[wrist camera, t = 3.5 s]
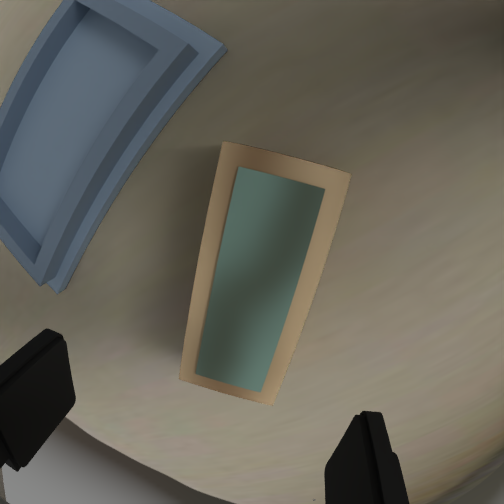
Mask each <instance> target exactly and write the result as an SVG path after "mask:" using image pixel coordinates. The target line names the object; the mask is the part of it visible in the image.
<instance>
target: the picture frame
mask: <svg viewBox="0 0 504 504" xmlns="http://www.w3.org/2000/svg"><path fill="white" fill-rule="evenodd" d="M351 175H352V174H350V173H347V172H344V171H341V170H338V169H335V168H332V167H328V166H325V165H321V164H318V163H314V162H311V161H307V160H303V159H300V158H296V157H292V156H288V155H284V154H280V153H276V152H272V151H268V150H264V149H260V148H256V147H251V146H247V145H242V144H237V143H232V142H227V141H223V143H222V148H221V152H220V156H219V161H218V165H217V170H216V174H215V179H214V183H213V188H212V193H211V198H210V202H209V207H208V212H207V217H206V222H205V227H204V232H203V237H202V242H201V247H200V253H199V258H198V263H197V269H196V274H195V280H194V285H193V291H192V297H191V303H190V309H189V315H188V321H187V327H186V333H185V340H184V346H183V353H182V360H181V366H180V373H179V379H180V380H183V381H186V382H189V383H192V384H195V385H199V386H202V387H205V388H208V389H212V390H215V391H218V392H222V393H225V394H229V395H232V396H236V397H239V398H243V399H247V400H251V401H255V402H259V403H263V404H267V405H271V406H273V404H274V401H275V399H276V396H277V394H278V391H279V389H280V387H281V384H282V382H283V379H284V377H285V374H286V371H287V369H288V366H289V364H290V361H291V359H292V356H293V353H294V351H295V348H296V345H297V343H298V340H299V337H300V335H301V332H302V329H303V327H304V324H305V321H306V318H307V315H308V313H309V310H310V307H311V304H312V301H313V298H314V295H315V293H316V290H317V287H318V284H319V281H320V278H321V275H322V272H323V269H324V266H325V263H326V259H327V256H328V253H329V250H330V247H331V244H332V241H333V237H334V234H335V231H336V228H337V224H338V221H339V218H340V214H341V211H342V207H343V204H344V200H345V197H346V193H347V190H348V186H349V183H350V179H351Z"/></svg>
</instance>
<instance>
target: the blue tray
mask: <svg viewBox="0 0 504 504" xmlns="http://www.w3.org/2000/svg"><path fill="white" fill-rule="evenodd" d="M226 51H227V48H226V47H225V46H224V44H222V43H221V42H219V41H218V40H216V39H215V38H213V37H212V36H210V35H208V34H207V33H205V32H204V31H202V30H200V29H199V28H197V27H196V26H194V25H192V24H191V23H189V22H187V21H186V20H184V19H182V18H180V17H179V16H177V15H175V14H174V13H172V12H170V11H168V10H166V9H165V8H163V7H161V6H159V5H157V4H155V3H153V2H152V1H150V0H63V2H62V3H61V4H60V6H59V7H58V8H57V10H56V11H55V13H54V14H53V15H52V17H51V18H50V20H49V21H48V23H47V24H46V26H45V27H44V29H43V30H42V32H41V33H40V35H39V36H38V38H37V40H36V41H35V43H34V45H33V46H32V48H31V50H30V51H29V53H28V55H27V56H26V58H25V60H24V62H23V63H22V65H21V67H20V69H19V71H18V73H17V75H16V77H15V78H14V80H13V82H12V84H11V86H10V88H9V90H8V93H7V95H6V97H5V99H4V101H3V103H2V106H1V108H0V239H1V240H2V242H3V243H4V244H5V246H6V247H7V248H8V249H9V251H10V252H11V253H12V254H13V256H14V257H15V258H16V259H17V260H18V262H19V263H20V264H21V265H22V266H23V268H24V269H25V270H26V271H27V272H28V273H29V275H30V276H31V277H32V278H33V279H34V280H35V281H36V283H37V284H38V285H39V286H42V285H43V284H45V283H47V284H48V285H49V286H50V287H51V288H52V289H53V290H54V291H55V292H56V293H57V294H58V293H60V292H61V291H63V290H64V289H66V287H67V285H68V283H69V280H70V278H71V276H72V274H73V273H74V271H75V269H76V267H77V265H78V263H79V261H80V259H81V257H82V255H83V253H84V251H85V250H86V248H87V246H88V244H89V242H90V240H91V239H92V237H93V235H94V233H95V232H96V230H97V228H98V226H99V225H100V223H101V221H102V219H103V218H104V216H105V214H106V213H107V211H108V209H109V208H110V206H111V204H112V203H113V201H114V199H115V198H116V196H117V195H118V193H119V192H120V190H121V188H122V187H123V185H124V184H125V182H126V181H127V179H128V178H129V176H130V174H131V173H132V171H133V170H134V168H135V167H136V165H137V164H138V163H139V161H140V160H141V158H142V157H143V155H144V154H145V152H146V151H147V150H148V148H149V147H150V145H151V144H152V143H153V141H154V140H155V138H156V137H157V136H158V134H159V133H160V132H161V130H162V129H163V127H164V126H165V125H166V123H167V122H168V121H169V120H170V118H171V117H172V116H173V114H174V113H175V112H176V110H177V109H178V108H179V107H180V105H181V104H182V103H183V102H184V100H185V99H186V98H187V97H188V95H189V94H190V93H191V92H192V90H193V89H194V88H195V87H196V86H197V84H198V83H199V82H200V81H201V80H202V79H203V77H204V76H205V75H206V74H207V73H208V72H209V70H210V69H211V68H212V67H213V66H214V65H215V64H216V62H217V61H218V60H219V59H220V58H221V57H222V56H223V55H224V54H225V53H226Z"/></svg>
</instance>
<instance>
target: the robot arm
mask: <svg viewBox="0 0 504 504" xmlns="http://www.w3.org/2000/svg"><path fill="white" fill-rule="evenodd" d="M75 400H76V396H75V391H74V386H73V381H72V376H71V370H70V364H69V358H68V351H67V344H66V341H65V340H64V338H63V336H62V335H61V334H60V333H57V332H55V331H53V330H50V329H45V330H43V331H42V332H41V333H39V334H38V335H37V336H36V337H34V338H33V339H32V340H31V341H29V342H28V343H27V344H26V345H24V346H23V347H22V348H21V349H19V350H18V351H17V352H16V353H15V354H13V355H12V356H11V357H10V358H9V359H7V360H6V361H5V362H4V363H3V364H1V365H0V504H9V503H8V502H6V497H5V490H4V483H3V475H2V466H3V465H4V463H6V464H7V465H8V466H10V467H12V468H13V469H14V470H16V471H19V469H20V468H21V467H25V466H26V465H27V464H28V463H29V462H30V460H31V459H32V458H33V457H34V455H35V454H36V453H37V451H38V450H39V449H40V448H41V446H42V445H43V444H44V442H45V441H46V440H47V438H48V437H49V436H50V435H51V433H52V432H53V431H54V430H55V428H56V427H57V426H58V425H59V423H60V422H61V421H62V420H63V418H64V417H65V416H66V415H67V413H68V412H69V411H70V410H71V408H72V407H73V406H74V404H75ZM325 501H326V504H409V500H408V496H407V492H406V487H405V483H404V479H403V475H402V471H401V467H400V463H399V459H398V457H397V455H396V454H395V453H394V452H392V449H391V445H390V441H389V437H388V433H387V430H386V426H385V422H384V419H383V415H382V413H380V412H371V411H362V412H361V413H360V415H355V416H354V418H353V420H352V421H351V423H350V425H349V427H348V429H347V430H346V432H345V434H344V436H343V437H342V439H341V441H340V443H339V444H338V446H337V448H336V449H335V451H334V453H333V454H332V456H331V458H330V459H329V461H328V462H327V464H326V467H325Z"/></svg>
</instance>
